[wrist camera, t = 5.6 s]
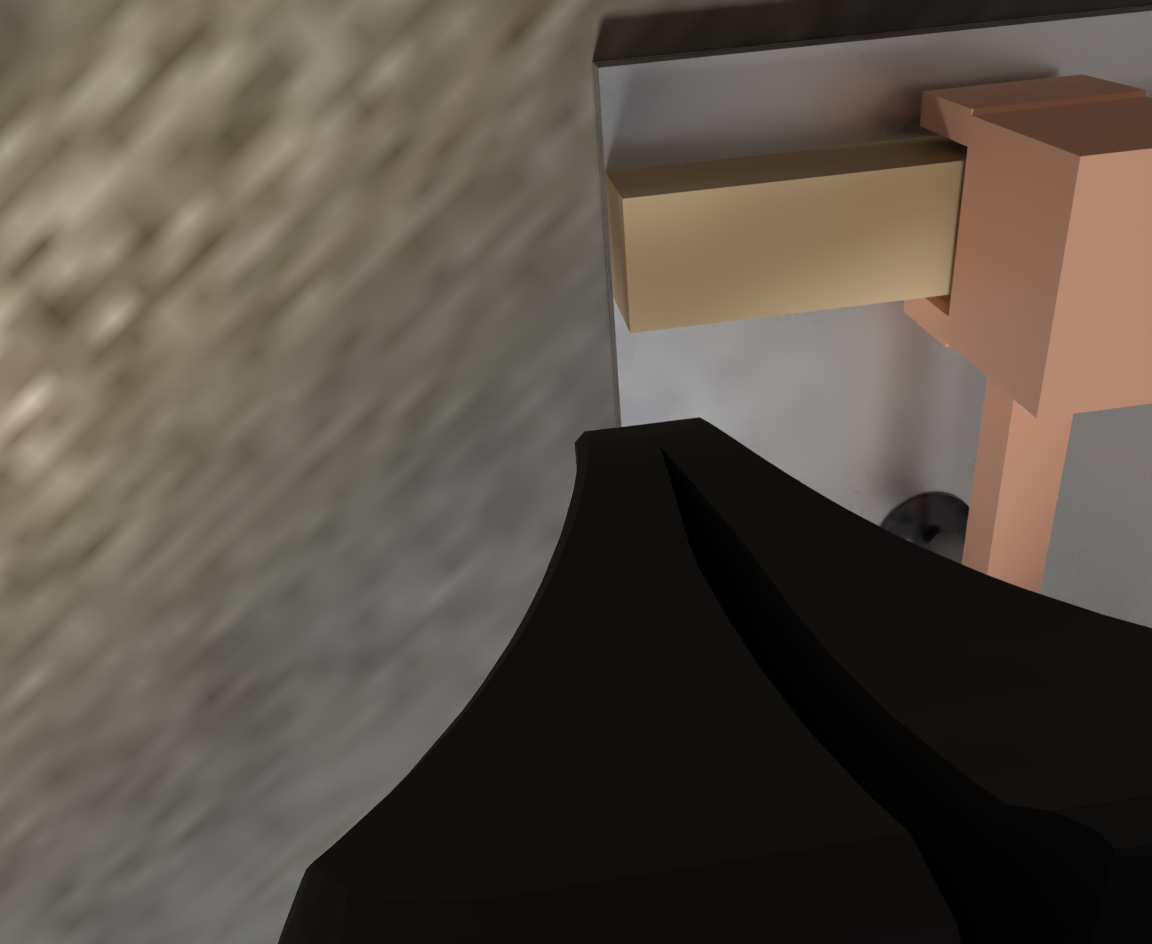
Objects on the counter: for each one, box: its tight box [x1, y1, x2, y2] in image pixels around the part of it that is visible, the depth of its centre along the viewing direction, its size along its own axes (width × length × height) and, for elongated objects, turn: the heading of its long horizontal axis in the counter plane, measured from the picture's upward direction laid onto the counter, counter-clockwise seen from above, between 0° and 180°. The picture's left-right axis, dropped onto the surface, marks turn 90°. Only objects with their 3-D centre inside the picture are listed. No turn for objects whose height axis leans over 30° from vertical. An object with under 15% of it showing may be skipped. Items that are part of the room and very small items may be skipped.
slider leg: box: [903, 74, 1152, 594], centre depth 18 cm, size 10×3×5 cm, turn 5°
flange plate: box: [592, 5, 1152, 628], centre depth 22 cm, size 16×20×1 cm
